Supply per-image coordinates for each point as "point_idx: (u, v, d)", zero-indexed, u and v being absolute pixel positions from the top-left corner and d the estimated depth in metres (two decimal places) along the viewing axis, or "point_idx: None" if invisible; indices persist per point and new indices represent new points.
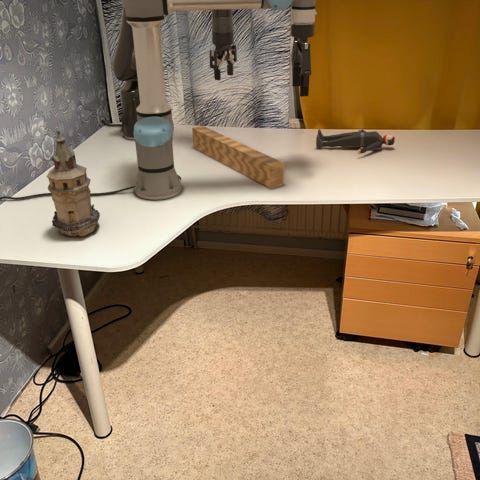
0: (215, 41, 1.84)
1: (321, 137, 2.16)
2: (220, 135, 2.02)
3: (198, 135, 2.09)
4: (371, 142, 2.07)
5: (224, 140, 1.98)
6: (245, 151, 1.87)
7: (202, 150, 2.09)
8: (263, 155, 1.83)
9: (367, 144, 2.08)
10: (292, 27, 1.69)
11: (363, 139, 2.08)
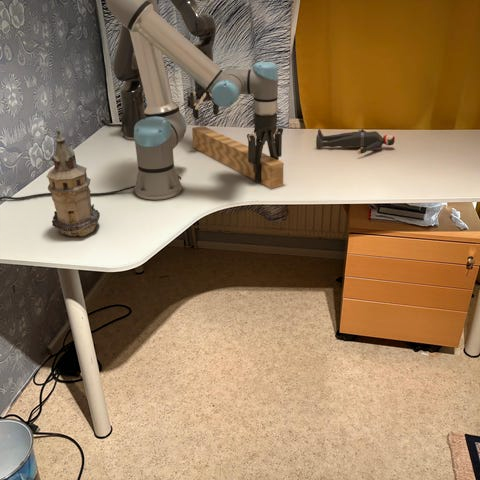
0: (195, 83, 1.97)
1: (321, 137, 2.16)
2: (220, 135, 2.02)
3: (198, 135, 2.09)
4: (371, 142, 2.07)
5: (224, 140, 1.98)
6: (245, 151, 1.87)
7: (202, 150, 2.09)
8: (263, 155, 1.83)
9: (367, 144, 2.08)
10: (275, 117, 1.72)
11: (363, 139, 2.08)
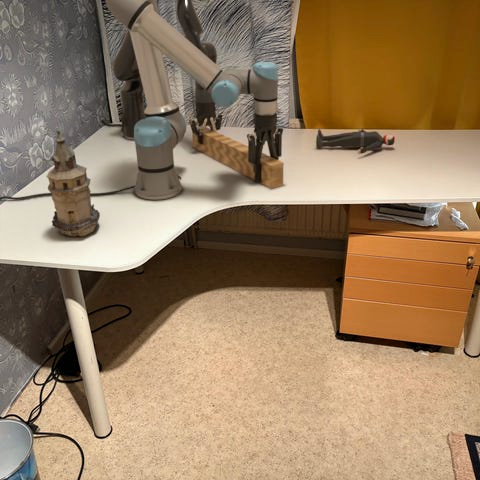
0: (196, 108, 2.01)
1: (321, 137, 2.16)
2: (220, 135, 2.02)
3: None
4: (371, 142, 2.07)
5: (224, 140, 1.98)
6: (245, 151, 1.87)
7: (202, 150, 2.09)
8: (263, 155, 1.83)
9: (367, 144, 2.08)
10: (275, 117, 1.72)
11: (363, 139, 2.08)
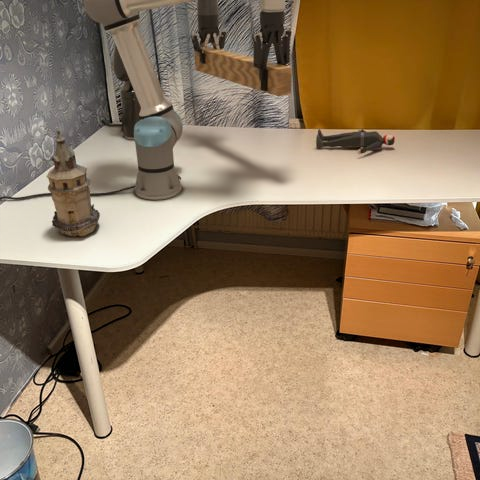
0: (198, 23, 1.89)
1: (321, 137, 2.16)
2: (224, 51, 1.90)
3: None
4: (371, 142, 2.07)
5: (227, 54, 1.85)
6: (250, 61, 1.74)
7: (205, 70, 1.97)
8: (270, 63, 1.70)
9: (367, 144, 2.08)
10: (282, 14, 1.59)
11: (363, 139, 2.08)
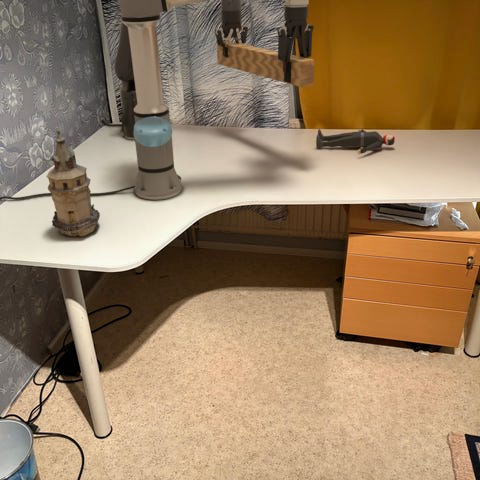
0: (222, 18, 1.98)
1: (321, 137, 2.16)
2: (246, 45, 1.99)
3: None
4: (371, 142, 2.07)
5: (250, 48, 1.94)
6: (274, 54, 1.83)
7: (227, 64, 2.06)
8: (292, 56, 1.79)
9: (367, 144, 2.08)
10: (306, 9, 1.68)
11: (363, 139, 2.08)
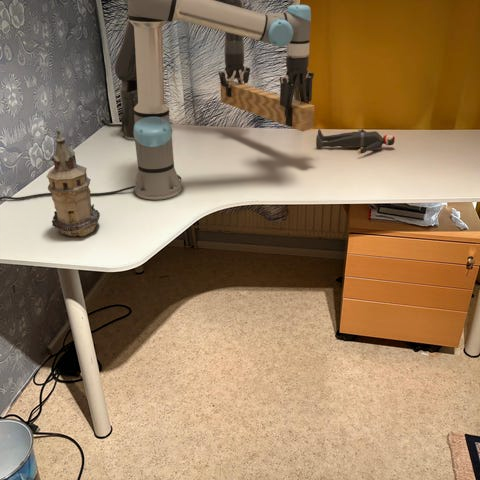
0: (225, 60, 2.07)
1: (321, 137, 2.16)
2: (249, 86, 2.08)
3: None
4: (371, 142, 2.07)
5: (253, 90, 2.03)
6: (275, 98, 1.92)
7: (230, 103, 2.14)
8: (294, 100, 1.88)
9: (367, 144, 2.08)
10: (307, 59, 1.77)
11: (363, 139, 2.08)
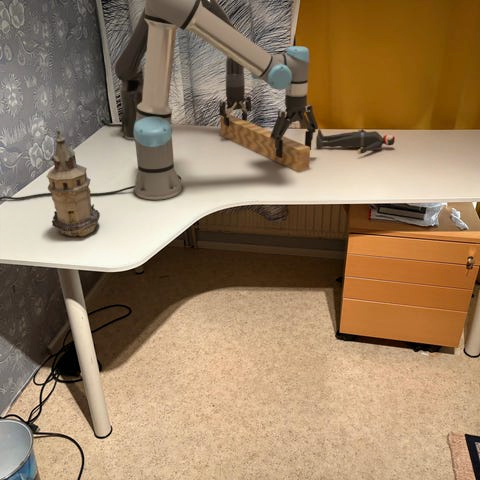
0: (226, 93, 2.13)
1: (321, 137, 2.16)
2: (248, 123, 2.15)
3: None
4: (371, 142, 2.07)
5: (251, 127, 2.10)
6: None
7: (230, 137, 2.22)
8: (290, 140, 1.96)
9: (367, 144, 2.08)
10: (305, 98, 1.83)
11: (363, 139, 2.08)
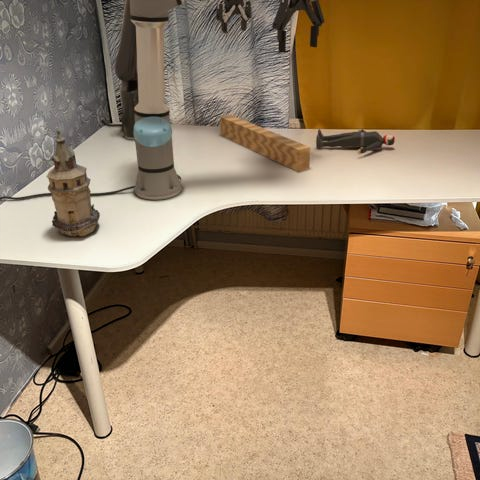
0: None
1: (321, 137, 2.16)
2: (248, 123, 2.15)
3: (226, 123, 2.21)
4: (371, 142, 2.07)
5: (251, 127, 2.10)
6: (273, 137, 2.00)
7: (230, 137, 2.22)
8: (290, 140, 1.96)
9: (367, 144, 2.08)
10: None
11: (363, 139, 2.08)
